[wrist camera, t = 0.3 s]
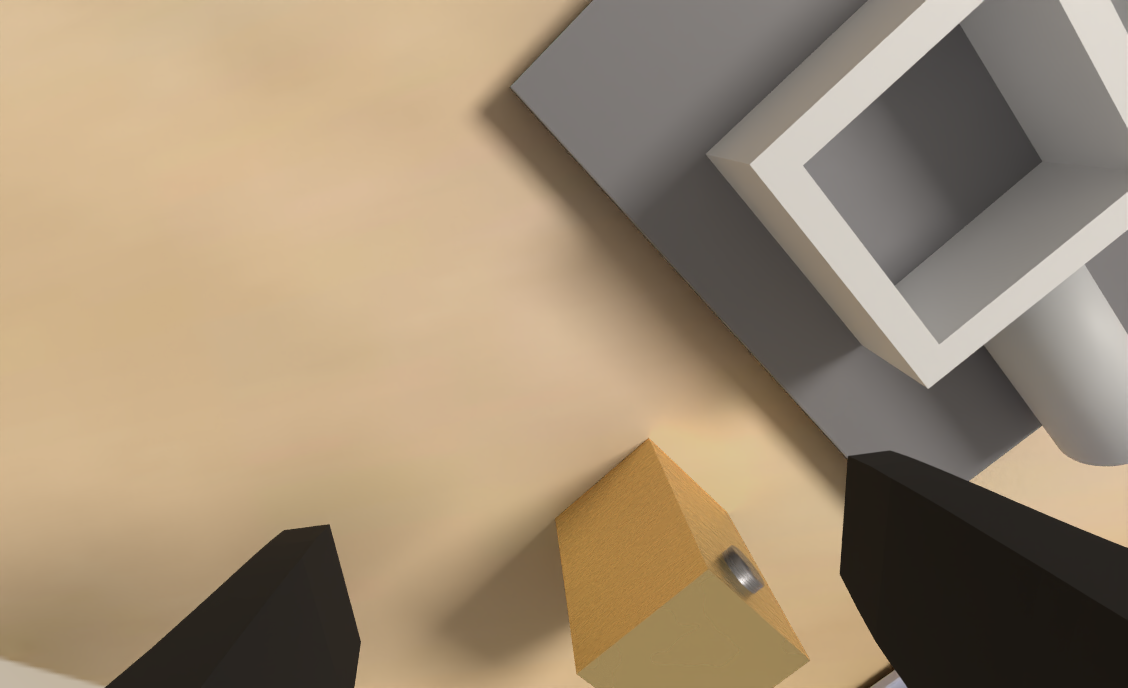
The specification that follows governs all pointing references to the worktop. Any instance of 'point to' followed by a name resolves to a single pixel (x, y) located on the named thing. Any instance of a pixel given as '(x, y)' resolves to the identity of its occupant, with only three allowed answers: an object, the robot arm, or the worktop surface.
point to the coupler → (667, 586)
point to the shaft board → (880, 202)
